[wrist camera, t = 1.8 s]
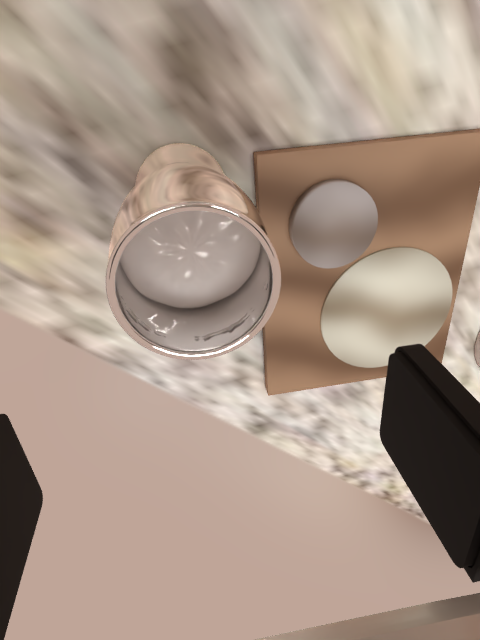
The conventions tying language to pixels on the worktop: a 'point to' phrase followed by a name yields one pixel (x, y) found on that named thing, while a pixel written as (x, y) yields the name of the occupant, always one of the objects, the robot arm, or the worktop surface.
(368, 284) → the carrier plate
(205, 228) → the beer glass
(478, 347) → the mechanical component
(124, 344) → the worktop surface
